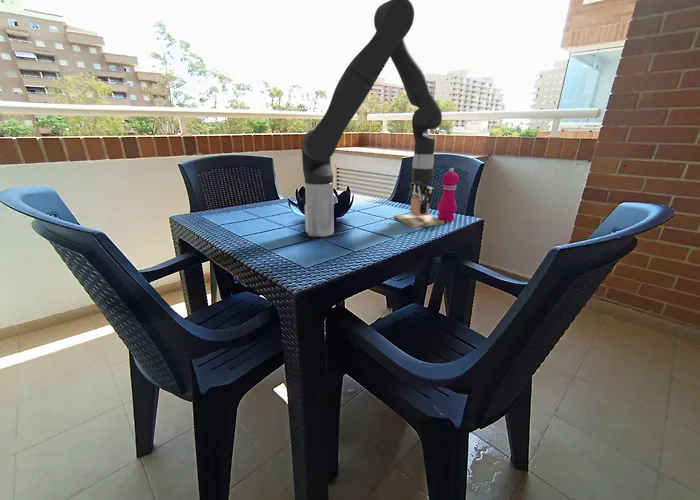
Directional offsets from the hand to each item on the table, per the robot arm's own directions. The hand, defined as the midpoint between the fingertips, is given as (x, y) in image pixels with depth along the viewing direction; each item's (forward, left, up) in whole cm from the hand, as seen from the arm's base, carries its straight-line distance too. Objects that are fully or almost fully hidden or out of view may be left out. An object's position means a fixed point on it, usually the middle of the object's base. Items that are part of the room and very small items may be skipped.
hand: (419, 211), depth 123 cm
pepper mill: (+12, -1, -4) cm, 13 cm away
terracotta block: (0, 0, -1) cm, 1 cm away
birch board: (0, 0, -4) cm, 4 cm away
